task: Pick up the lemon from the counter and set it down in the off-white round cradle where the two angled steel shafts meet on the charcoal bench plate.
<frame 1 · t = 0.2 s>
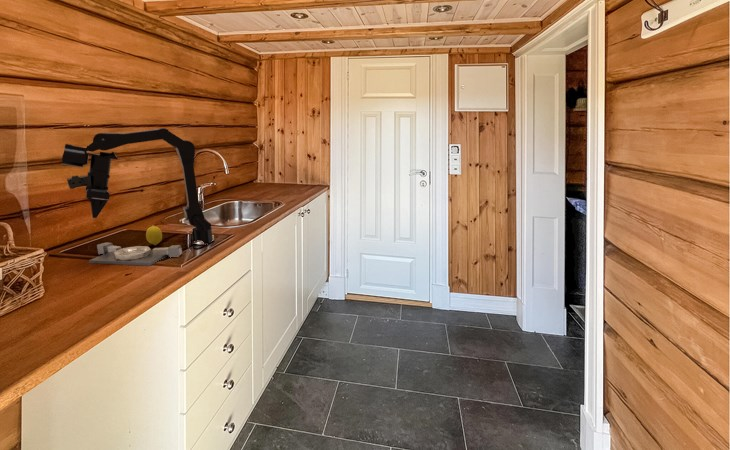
hand: (94, 215, 137), 15 cm above the table, fingers open, 9 cm apart
lemon: (155, 246, 156), on the table
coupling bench: (133, 257, 141), on the table
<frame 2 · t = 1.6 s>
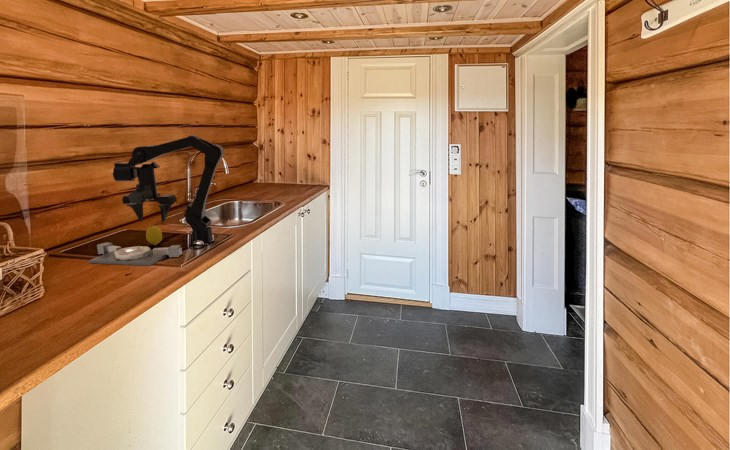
hand: (152, 221, 153), 9 cm above the table, fingers open, 9 cm apart
nothing on the table moved.
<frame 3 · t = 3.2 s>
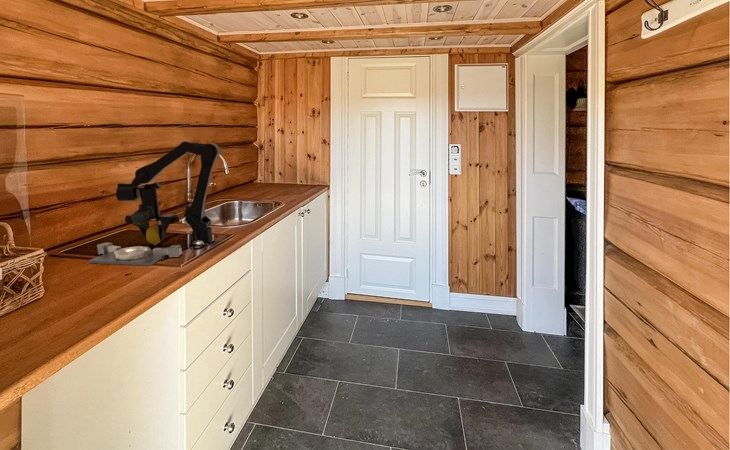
hand: (154, 240, 155), 2 cm above the table, fingers closed on lemon, 5 cm apart
lemon: (155, 246, 156), on the table, touching gripper
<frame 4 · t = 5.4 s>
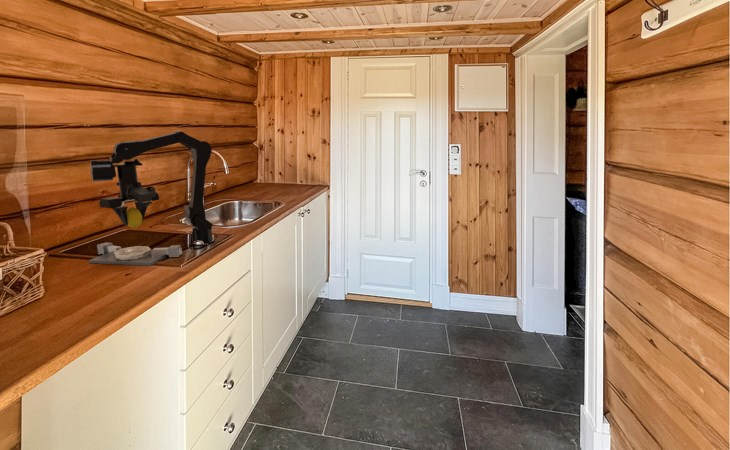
hand: (133, 223, 142), 11 cm above the table, fingers closed on lemon, 5 cm apart
lemon: (134, 229, 142), point 9 cm above the table, touching gripper
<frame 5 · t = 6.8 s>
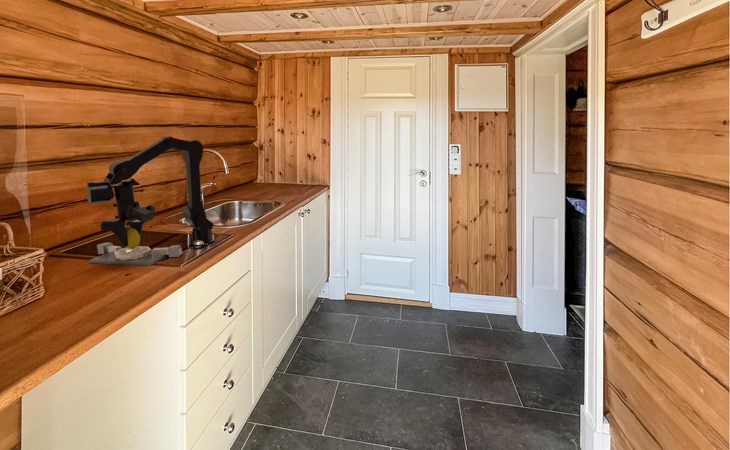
hand: (131, 243, 140), 5 cm above the table, fingers closed on lemon, 5 cm apart
lemon: (132, 250, 140), point 3 cm above the table, touching gripper
when the fingers open (5 cm above the table, at t = 7.6 s): lemon drops 1 cm, resting on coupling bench.
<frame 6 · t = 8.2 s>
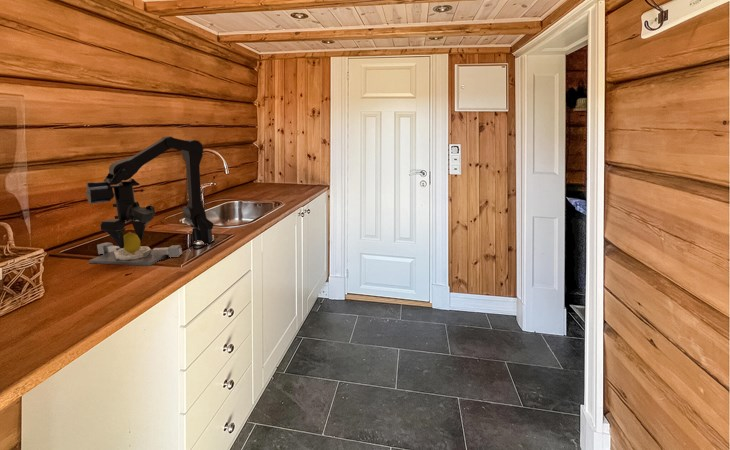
hand: (131, 244, 140), 5 cm above the table, fingers open, 9 cm apart
lemon: (133, 254, 141), point 1 cm above the table, touching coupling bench
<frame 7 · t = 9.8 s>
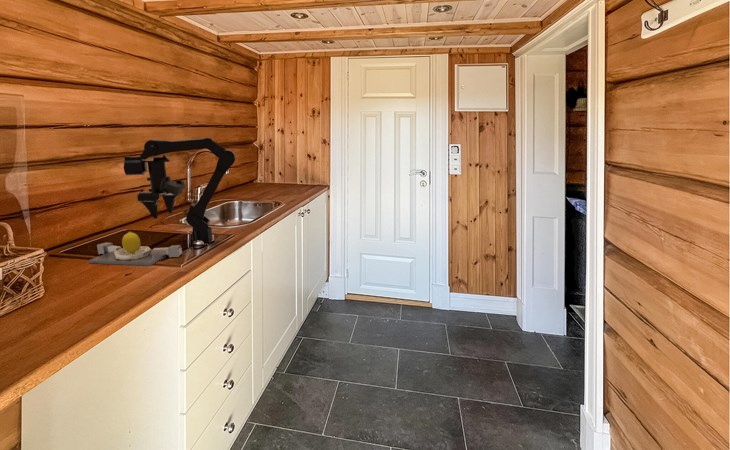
hand: (163, 215, 152), 12 cm above the table, fingers open, 9 cm apart
nothing on the table moved.
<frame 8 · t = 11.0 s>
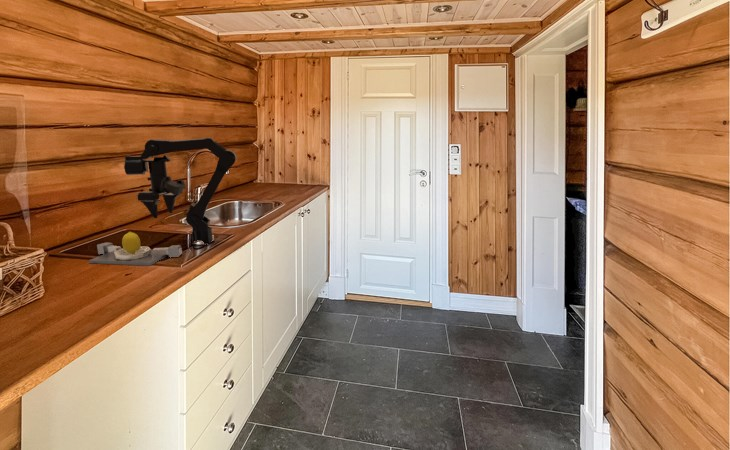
hand: (163, 215, 152), 12 cm above the table, fingers open, 9 cm apart
nothing on the table moved.
at the end: lemon 0.0 cm off-centre on the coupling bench, point 1.2 cm above the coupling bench's base; the gripper is holding nothing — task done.
